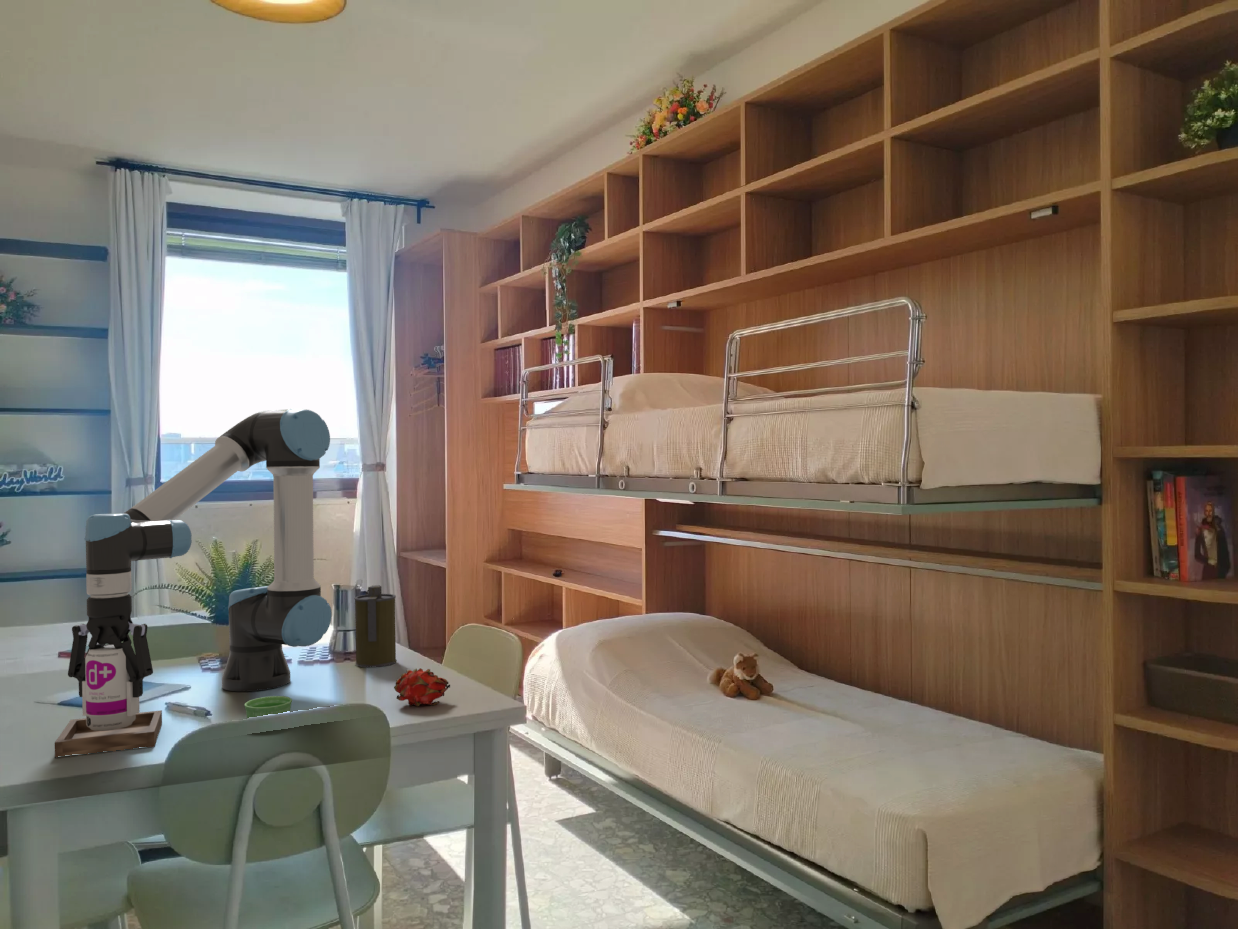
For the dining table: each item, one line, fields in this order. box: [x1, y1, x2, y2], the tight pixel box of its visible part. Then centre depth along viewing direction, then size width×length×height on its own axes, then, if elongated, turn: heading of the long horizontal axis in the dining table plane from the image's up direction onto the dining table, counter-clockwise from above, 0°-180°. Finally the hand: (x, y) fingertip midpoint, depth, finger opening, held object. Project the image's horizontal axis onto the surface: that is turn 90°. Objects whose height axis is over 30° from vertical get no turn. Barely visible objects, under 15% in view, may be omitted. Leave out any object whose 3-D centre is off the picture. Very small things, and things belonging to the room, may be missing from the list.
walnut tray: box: [54, 710, 163, 758], centre depth 175 cm, size 16×16×3 cm
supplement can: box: [84, 644, 136, 731], centre depth 175 cm, size 8×8×15 cm
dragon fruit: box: [393, 668, 451, 707], centre depth 198 cm, size 8×8×12 cm
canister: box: [354, 584, 397, 669], centre depth 239 cm, size 11×10×20 cm
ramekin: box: [244, 695, 293, 719], centre depth 186 cm, size 9×9×4 cm
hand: (111, 713), depth 175 cm, fingers closed on supplement can, 8 cm apart
